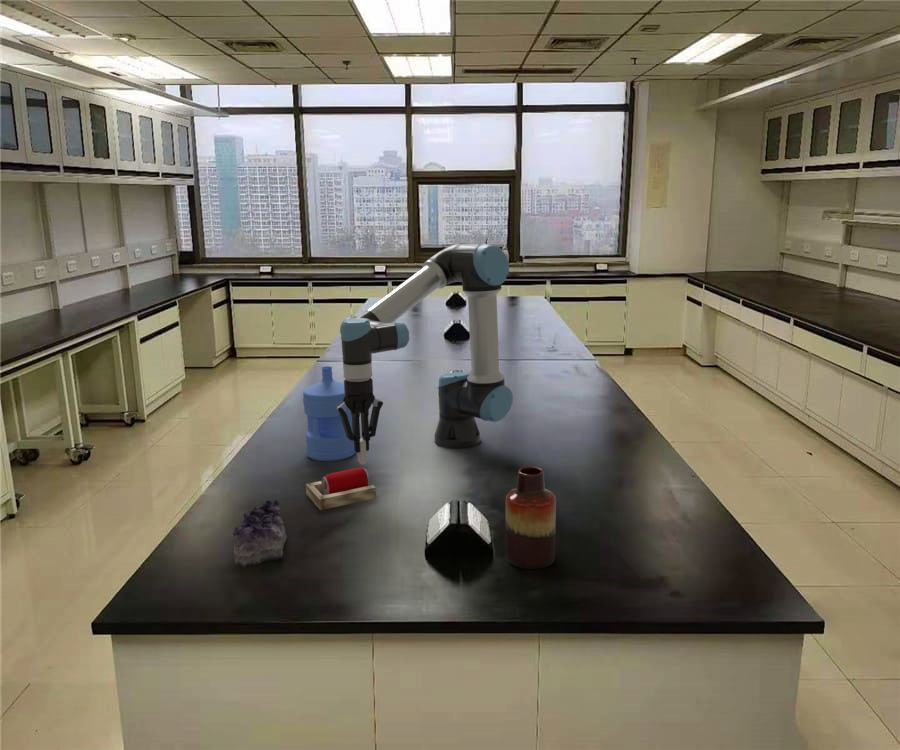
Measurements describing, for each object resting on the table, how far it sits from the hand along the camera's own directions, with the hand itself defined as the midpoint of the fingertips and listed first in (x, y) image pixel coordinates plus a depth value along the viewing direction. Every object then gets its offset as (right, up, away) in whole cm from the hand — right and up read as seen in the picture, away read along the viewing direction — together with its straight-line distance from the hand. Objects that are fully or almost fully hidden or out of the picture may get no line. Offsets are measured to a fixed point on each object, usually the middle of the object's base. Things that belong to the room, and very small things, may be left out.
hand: (362, 462), depth 192 cm
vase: (+41, -17, -36) cm, 57 cm away
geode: (-19, -16, -29) cm, 39 cm away
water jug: (-14, -1, +32) cm, 35 cm away
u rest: (-5, -9, -1) cm, 10 cm away
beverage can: (+1, -4, +3) cm, 5 cm away
